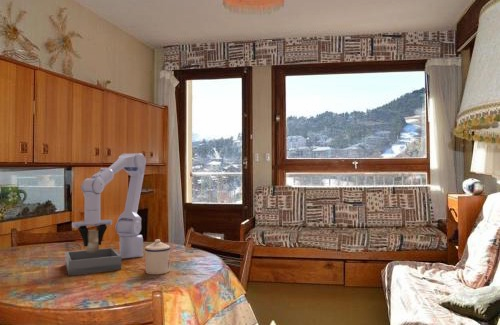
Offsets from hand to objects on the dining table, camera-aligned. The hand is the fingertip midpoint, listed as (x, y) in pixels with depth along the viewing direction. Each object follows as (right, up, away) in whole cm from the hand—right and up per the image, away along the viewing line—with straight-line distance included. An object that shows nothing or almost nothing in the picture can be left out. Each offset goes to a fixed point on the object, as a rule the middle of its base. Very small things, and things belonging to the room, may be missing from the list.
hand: (92, 245), depth 160 cm
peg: (0, -3, 0) cm, 3 cm away
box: (0, -8, 0) cm, 8 cm away
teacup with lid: (+26, -8, -6) cm, 28 cm away
